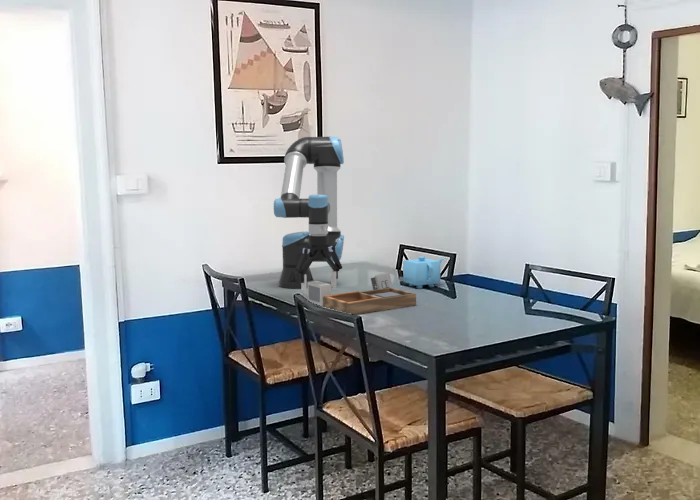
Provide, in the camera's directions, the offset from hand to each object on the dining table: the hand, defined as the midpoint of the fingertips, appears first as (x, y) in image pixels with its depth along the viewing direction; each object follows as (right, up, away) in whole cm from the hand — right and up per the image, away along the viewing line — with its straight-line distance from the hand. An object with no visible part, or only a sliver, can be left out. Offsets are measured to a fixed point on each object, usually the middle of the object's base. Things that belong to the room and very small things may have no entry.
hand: (319, 289), depth 295 cm
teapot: (+46, 0, +37) cm, 59 cm away
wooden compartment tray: (+20, -6, -6) cm, 21 cm away
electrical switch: (+25, -4, +16) cm, 30 cm away
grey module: (+27, -6, -2) cm, 27 cm away
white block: (0, -6, +1) cm, 6 cm away
